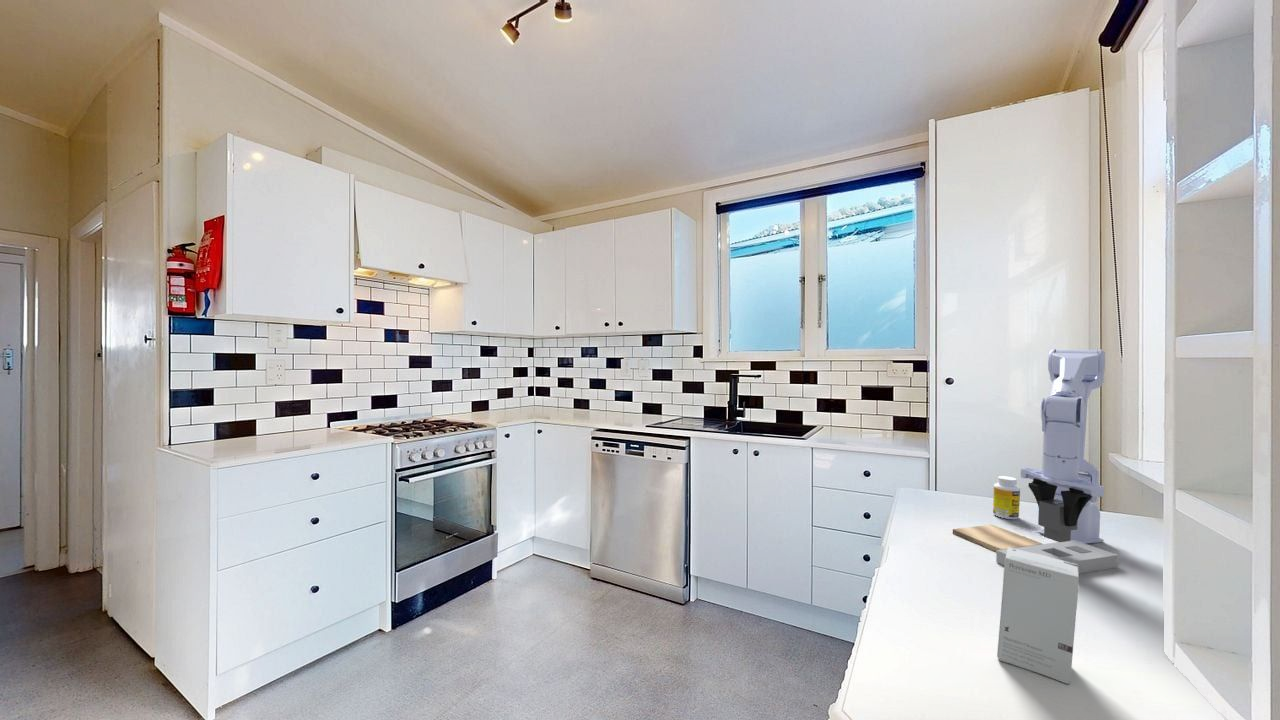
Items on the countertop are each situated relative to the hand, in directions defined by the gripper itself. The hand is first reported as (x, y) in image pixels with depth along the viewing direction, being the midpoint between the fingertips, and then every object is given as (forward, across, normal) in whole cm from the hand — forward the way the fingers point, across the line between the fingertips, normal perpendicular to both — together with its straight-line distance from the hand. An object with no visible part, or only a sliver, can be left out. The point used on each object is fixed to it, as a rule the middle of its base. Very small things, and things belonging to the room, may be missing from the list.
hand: (1058, 521), depth 103 cm
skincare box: (+9, +23, -37) cm, 44 cm away
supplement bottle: (+9, -25, +18) cm, 32 cm away
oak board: (+9, -13, 0) cm, 16 cm away
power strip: (+9, 0, 0) cm, 9 cm away
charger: (+4, 0, 0) cm, 4 cm away
